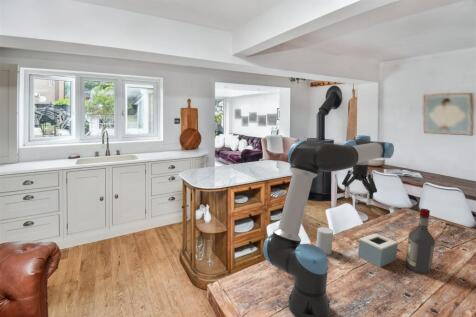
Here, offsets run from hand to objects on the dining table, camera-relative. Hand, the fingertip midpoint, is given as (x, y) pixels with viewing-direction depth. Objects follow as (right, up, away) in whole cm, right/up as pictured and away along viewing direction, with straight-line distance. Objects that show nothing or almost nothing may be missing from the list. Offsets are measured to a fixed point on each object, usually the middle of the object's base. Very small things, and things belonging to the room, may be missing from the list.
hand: (357, 200), depth 147 cm
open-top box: (+6, -29, -9) cm, 31 cm away
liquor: (+21, -30, -18) cm, 41 cm away
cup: (-20, -27, -3) cm, 34 cm away
